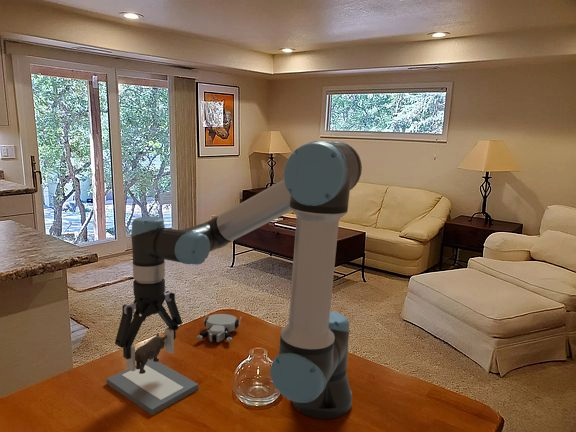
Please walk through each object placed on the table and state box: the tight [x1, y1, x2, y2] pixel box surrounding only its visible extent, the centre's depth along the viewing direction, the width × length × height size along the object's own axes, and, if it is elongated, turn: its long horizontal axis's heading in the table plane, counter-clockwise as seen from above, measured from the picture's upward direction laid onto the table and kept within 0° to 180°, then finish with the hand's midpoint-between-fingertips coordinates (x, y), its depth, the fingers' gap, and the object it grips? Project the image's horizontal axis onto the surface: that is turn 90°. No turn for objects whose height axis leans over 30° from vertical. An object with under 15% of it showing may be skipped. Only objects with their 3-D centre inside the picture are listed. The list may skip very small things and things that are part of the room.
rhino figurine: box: [135, 332, 167, 374], centre depth 112 cm, size 4×14×6 cm, turn 165°
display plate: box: [105, 358, 199, 416], centre depth 114 cm, size 20×14×2 cm
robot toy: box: [196, 313, 242, 343], centre depth 144 cm, size 12×4×15 cm
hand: (151, 360), depth 112 cm, fingers closed on rhino figurine, 11 cm apart
